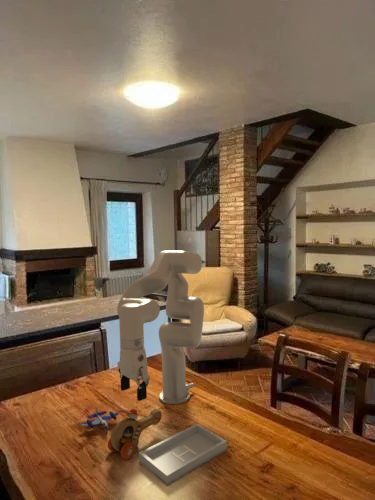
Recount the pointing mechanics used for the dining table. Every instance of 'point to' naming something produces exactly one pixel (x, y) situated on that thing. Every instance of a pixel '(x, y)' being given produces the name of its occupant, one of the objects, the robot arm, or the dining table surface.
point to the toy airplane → (100, 419)
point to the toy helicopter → (131, 431)
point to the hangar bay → (182, 453)
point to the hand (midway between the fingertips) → (133, 394)
